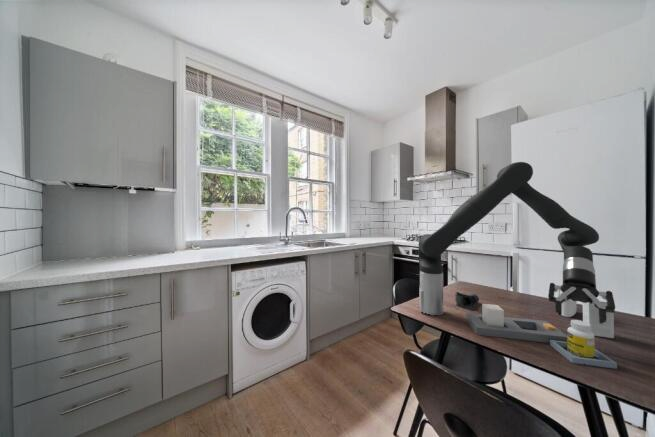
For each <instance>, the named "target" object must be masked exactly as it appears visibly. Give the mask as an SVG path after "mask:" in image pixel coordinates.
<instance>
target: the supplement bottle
mask: <svg viewBox="0 0 655 437" xmlns="http://www.w3.org/2000/svg"><path fill="white" fill-rule="evenodd" d="M590 330H591V325H590V324H589V323H587V322H584V321H583V320H580V319H571V320H570V326H569V327H567V331H566V332H567V333H566V335H567V350H566V351H567V352H569V353H570V354H571V355H572V356H575V357H583V358H591V359H596V358H595V357H596V356H595V349H596V348H595V345H596V344H595V342H596V341H595V337H596V336H594V334H593V333H592V332H591V331H590Z"/></svg>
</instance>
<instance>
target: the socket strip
mask: <svg viewBox="0 0 655 437" xmlns="http://www.w3.org/2000/svg"><path fill="white" fill-rule="evenodd" d="M481 309H482V310H481V311H482V312H481V314H475V313H466V314H465V319H466V322H467V323H468V324H469V326H470V328H471V329H472V330H473V332H474V333H475V334H476V335H478V336H488V337H495V338H496V337H497V338H504V339H505V338H506V339H511V340H522V341H530V342H539V343H549V344H550V340H555V341H564V342H567V333H564V332H563V331H561V330H560V329H559V328H557V327H555V325H552V323H550V322H549V321H547V320H542V319H541V320H539V319H531V318H530V319H529V318H519V317H509V316H508V317H507V316H505V312H504V311H505V310H504V309H503V308H502V307H500V306H499V305H497V304H491V303H490V304H488V303H482V306H481Z"/></svg>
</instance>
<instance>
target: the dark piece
mask: <svg viewBox="0 0 655 437" xmlns="http://www.w3.org/2000/svg"><path fill="white" fill-rule="evenodd" d="M454 296H455V303H456V304H455V305H456V306H457V307H461V308H462V309H469V310H471V311H475V310H476V309H475V307H476V305H477V304H478V303H479V300H480V298H479V295H477V294H476V293H469V294H464V293H461V292H458V291H455V294H454Z"/></svg>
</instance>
